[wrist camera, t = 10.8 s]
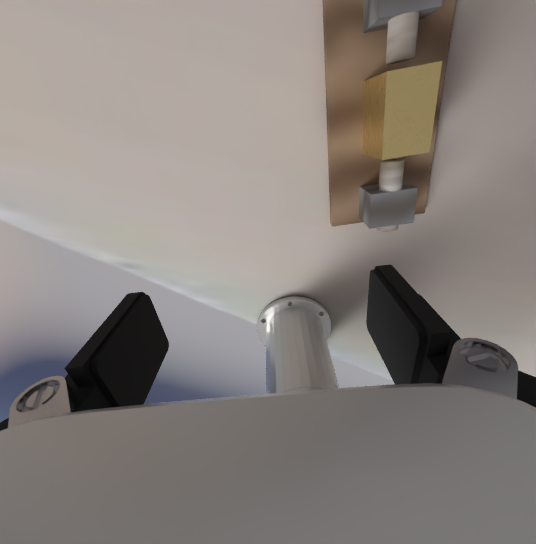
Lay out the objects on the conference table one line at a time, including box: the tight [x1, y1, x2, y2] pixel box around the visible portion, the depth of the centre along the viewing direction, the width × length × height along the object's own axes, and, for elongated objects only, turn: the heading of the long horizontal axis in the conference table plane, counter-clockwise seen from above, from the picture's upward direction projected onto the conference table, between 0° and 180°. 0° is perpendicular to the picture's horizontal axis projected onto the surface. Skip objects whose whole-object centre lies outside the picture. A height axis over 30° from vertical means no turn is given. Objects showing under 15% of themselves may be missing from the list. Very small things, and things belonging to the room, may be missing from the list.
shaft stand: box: [323, 0, 456, 231], centre depth 27 cm, size 24×12×5 cm, turn 9°
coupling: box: [362, 61, 442, 160], centre depth 26 cm, size 7×4×6 cm, turn 9°
